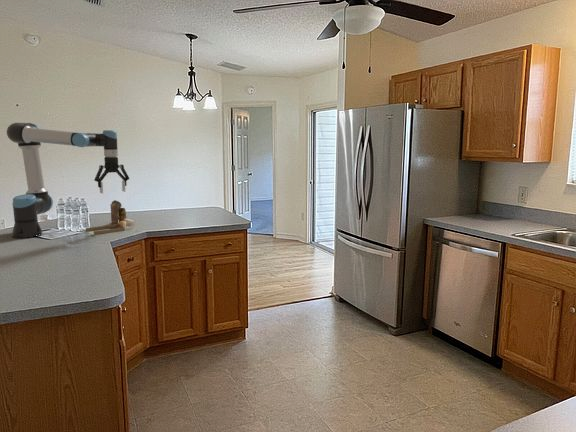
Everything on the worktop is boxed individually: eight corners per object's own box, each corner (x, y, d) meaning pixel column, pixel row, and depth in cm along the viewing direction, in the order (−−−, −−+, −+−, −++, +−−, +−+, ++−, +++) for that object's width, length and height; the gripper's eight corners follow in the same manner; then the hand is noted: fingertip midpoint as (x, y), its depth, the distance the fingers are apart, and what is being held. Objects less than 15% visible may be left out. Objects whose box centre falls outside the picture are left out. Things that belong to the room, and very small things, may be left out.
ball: (127, 220, 272) (128, 228, 273) (124, 219, 275) (125, 227, 277) (119, 222, 269) (120, 230, 270) (116, 221, 272) (117, 229, 273)
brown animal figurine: (109, 228, 282) (107, 200, 279) (116, 223, 295) (115, 197, 292) (123, 228, 282) (121, 200, 279) (130, 224, 295) (128, 197, 292)
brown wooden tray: (95, 238, 254) (95, 227, 253) (84, 233, 266) (84, 222, 265) (137, 232, 271) (136, 221, 270) (125, 227, 283) (124, 217, 282)
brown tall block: (114, 230, 266) (113, 205, 263) (109, 228, 271) (108, 203, 268) (120, 229, 269) (119, 204, 266) (116, 228, 274) (114, 203, 271)
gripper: (92, 157, 251) (94, 194, 254) (134, 156, 268) (135, 191, 272) (87, 156, 256) (89, 193, 260) (128, 156, 273) (130, 190, 277)
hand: (112, 192), depth 266 cm, fingers open, 13 cm apart
